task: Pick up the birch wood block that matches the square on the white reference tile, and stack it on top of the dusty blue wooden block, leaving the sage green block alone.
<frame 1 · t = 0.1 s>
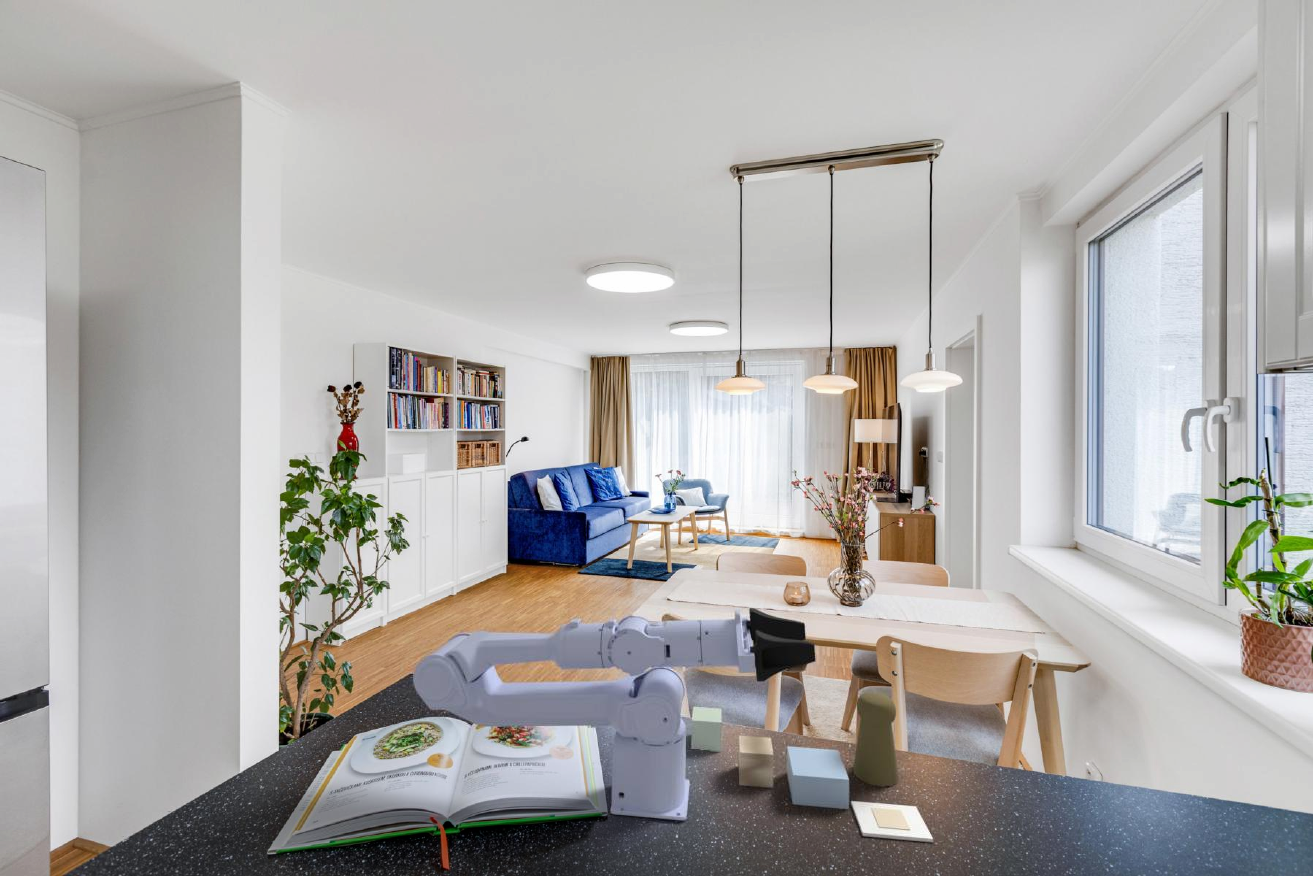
hand: (809, 641, 72), 22 cm above the kitchen counter, tool horizontal, fingers open, 7 cm apart
cork: (875, 775, 80), on the kitchen counter
sage green block: (706, 743, 88), on the kitchen counter
blue base block: (816, 792, 76), on the kitchen counter
reference tile: (890, 822, 70), on the kitchen counter
birch block: (755, 777, 79), on the kitchen counter
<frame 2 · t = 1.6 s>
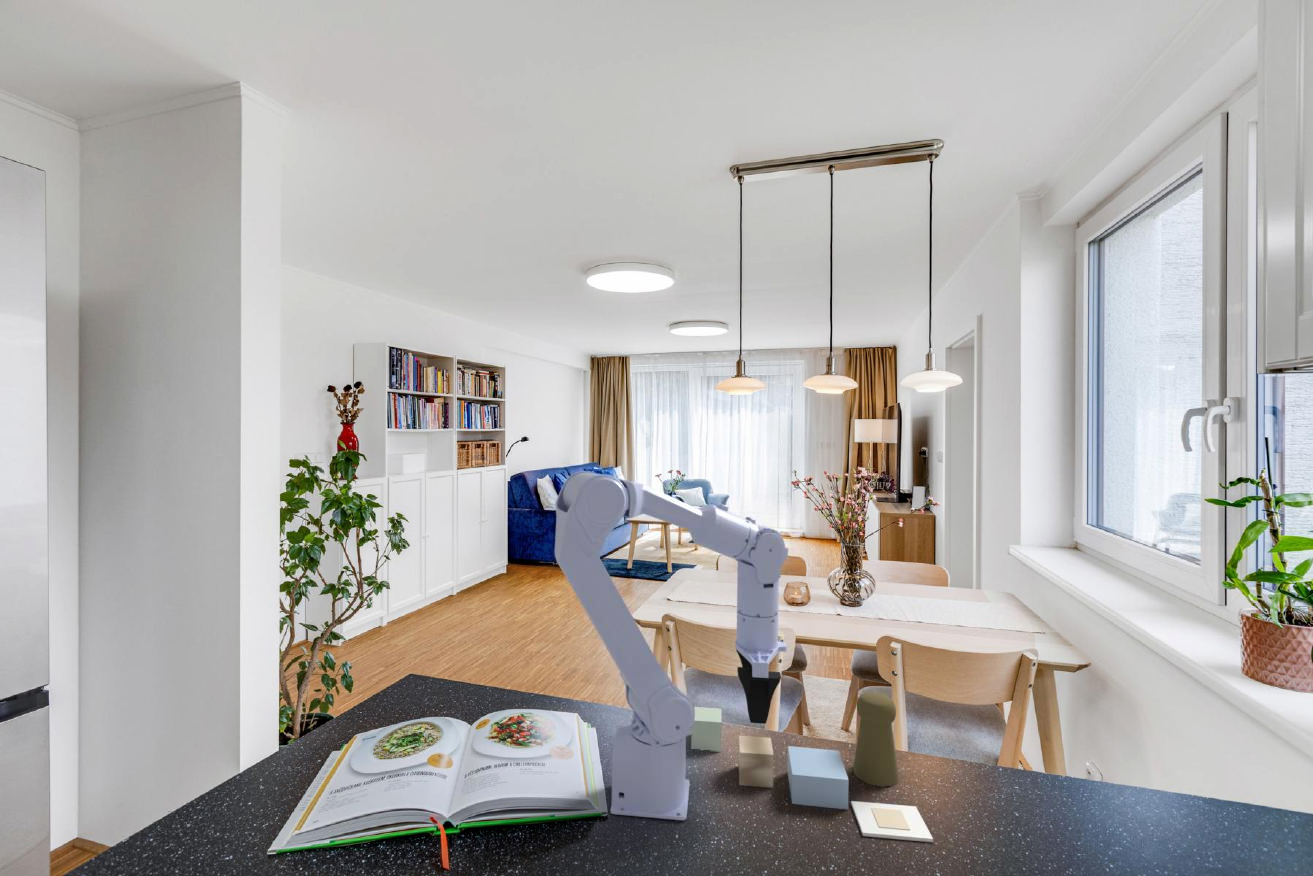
hand: (756, 708, 79), 9 cm above the kitchen counter, tool pointing down, fingers open, 7 cm apart
nothing on the kitchen counter moved.
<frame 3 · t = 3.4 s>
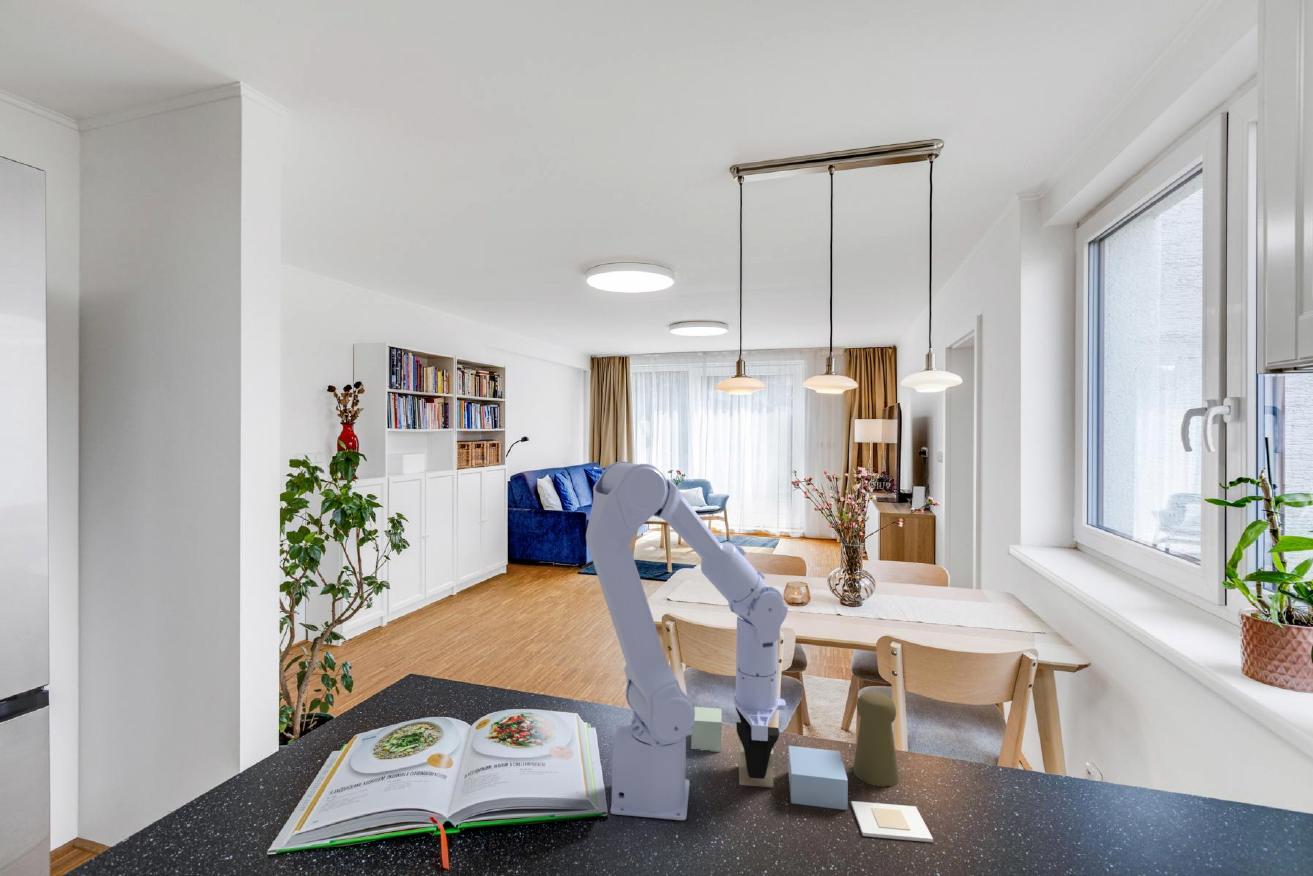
hand: (755, 766, 79), 1 cm above the kitchen counter, tool pointing down, fingers closed on birch block, 4 cm apart
birch block: (755, 776, 79), on the kitchen counter, touching gripper
everything else where it was.
when the fingers open (7 cm above the kitchen counter, at t = 6.2 s): birch block drops 2 cm, resting on blue base block.
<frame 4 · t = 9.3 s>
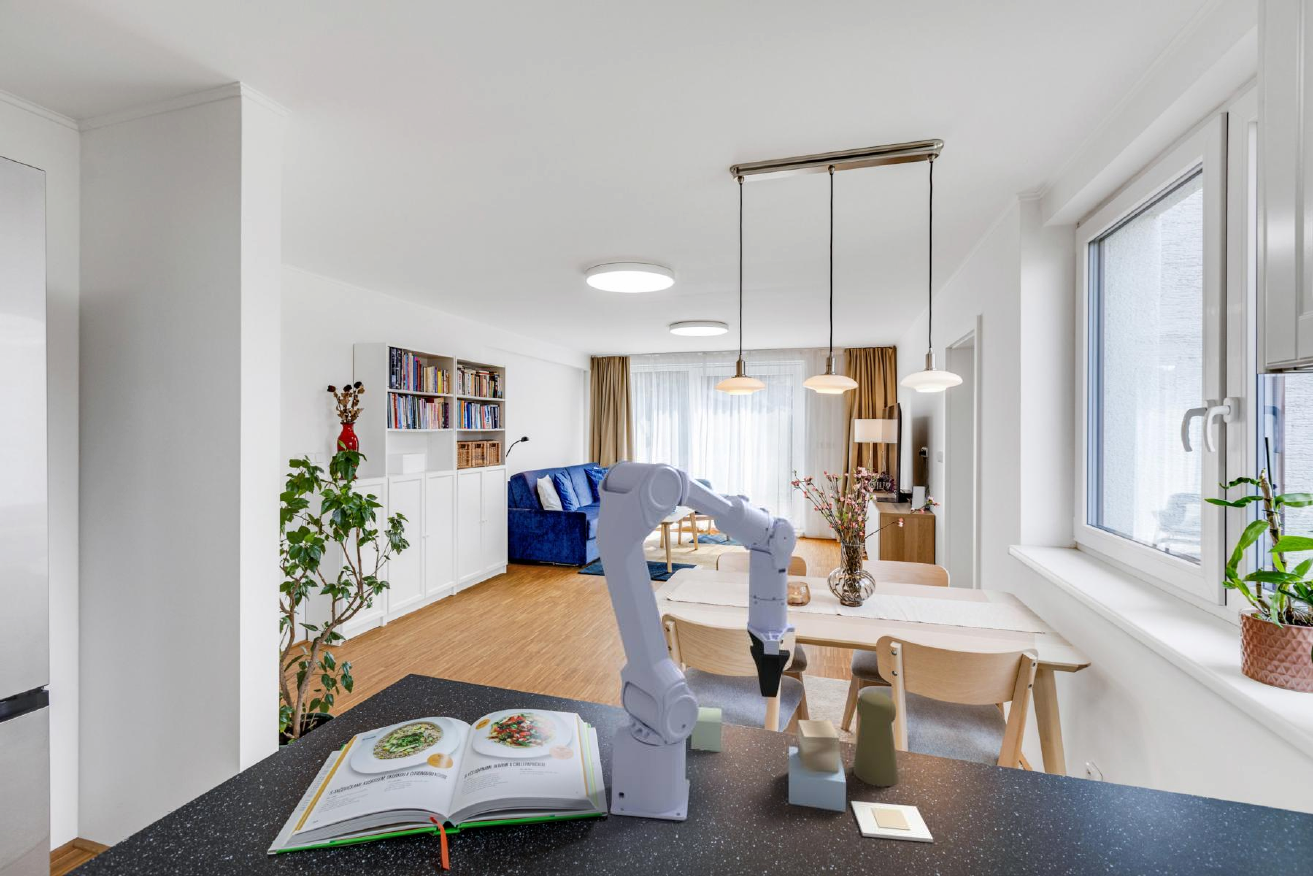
hand: (766, 685, 86), 10 cm above the kitchen counter, tool pointing down, fingers open, 7 cm apart
blue base block: (815, 793, 76), on the kitchen counter, touching birch block
birch block: (817, 762, 76), point 4 cm above the kitchen counter, touching blue base block
everything else where it was.
at the end: birch block 0.4 cm off-centre on the blue base block, point 4.0 cm above the blue base block's base; birch block tilted 0°; the gripper is holding nothing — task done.
